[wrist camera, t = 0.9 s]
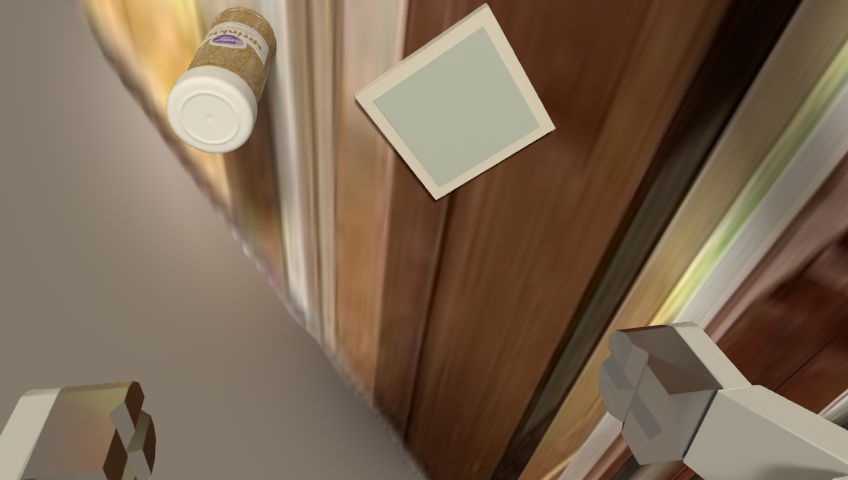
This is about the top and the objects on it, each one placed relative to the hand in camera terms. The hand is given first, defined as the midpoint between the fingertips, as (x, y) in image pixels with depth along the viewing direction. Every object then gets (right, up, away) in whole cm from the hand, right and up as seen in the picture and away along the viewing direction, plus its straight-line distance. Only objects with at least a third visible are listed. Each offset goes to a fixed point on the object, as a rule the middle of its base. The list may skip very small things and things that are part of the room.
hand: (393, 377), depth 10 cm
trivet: (+3, +13, +36) cm, 39 cm away
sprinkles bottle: (-13, +17, +31) cm, 38 cm away
